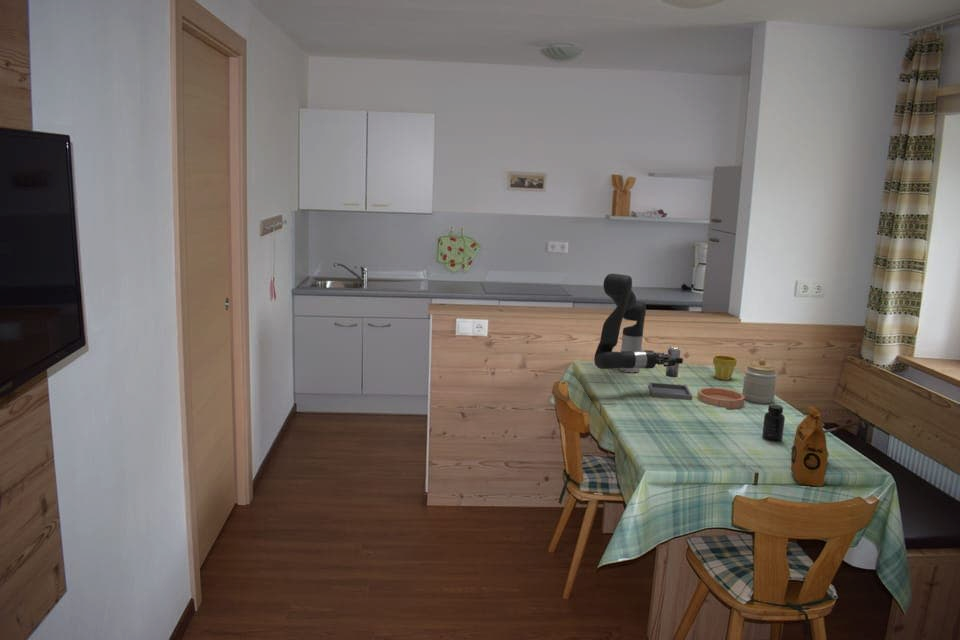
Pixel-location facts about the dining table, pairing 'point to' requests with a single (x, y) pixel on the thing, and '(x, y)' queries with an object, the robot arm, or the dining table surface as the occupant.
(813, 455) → the coffee package
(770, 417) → the supplement bottle
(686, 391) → the tray
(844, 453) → the dining table surface
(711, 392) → the terracotta bowl
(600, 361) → the robot arm
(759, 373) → the jar
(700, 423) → the dining table surface
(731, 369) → the plant pot
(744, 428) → the dining table surface
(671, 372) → the silver gray cylinder
